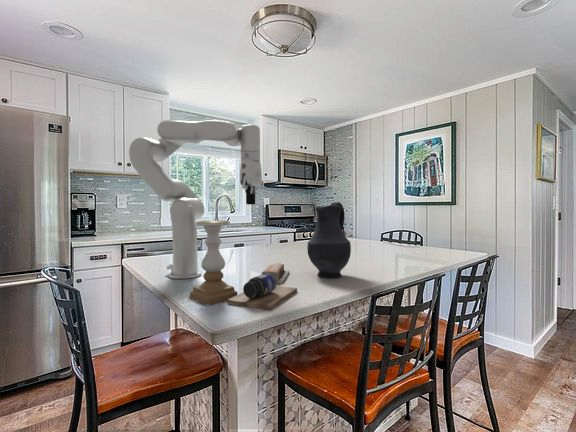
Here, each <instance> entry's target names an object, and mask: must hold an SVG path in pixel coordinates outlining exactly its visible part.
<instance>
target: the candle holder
mask: <svg viewBox="0 0 576 432" xmlns="http://www.w3.org/2000/svg"><path fill="white" fill-rule="evenodd" d="M195 222H196V226H202V227H203V229H204V231H205V232H206V236H207V237H206V239H205V240H204V244H205V245H206V248H207V251H206V254H205V255H204V257H203V258H202V260H201V266H200V267H201V268H202V270H204V271H205V272H204V273H203V279H204V280H205V281H203V282H202V283H200V285H195V286H193V287H192V290H191V291H189V298H190V299H192V300H194V301H196V300H197V301H196V302H199V303H202V304H203V305H205V306H206V305H207V306H209V305H210V306H211V305H214V304H218V303H222V302H226V301H227V300H228V299H230V298H232V297H234V296H236V295H238V291H236V290H235V287H234V286H233V285H230V284H227V282H225V281H224V280H222V279H223V278H224V273H223V272H222V270H223V269H224V268H225V267H226V261H225V258H224V257H223V255H222V254H221V252H220V249H219V248H220V246H221V244H222V240H221V238H220V232H221V230H222V229H223V226H228V225H230V224H231V223H230V221H229V220H199V221H197V220H196V221H195Z"/></svg>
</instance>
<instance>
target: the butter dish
mask: <svg viewBox="0 0 576 432" xmlns="http://www.w3.org/2000/svg"><path fill="white" fill-rule="evenodd" d="M264 273H271V274H272V275H274V277H275V278H276V281H277V284H283V283H284V282H285V280H287V277H289V274H290V270H289V269H285V265H284V263H281V262H279V263H273V264H269V265H268V266H267V267H266V268H265V269H264V270H263V271H262V272H261V275H262V274H264Z"/></svg>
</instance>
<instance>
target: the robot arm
mask: <svg viewBox="0 0 576 432" xmlns="http://www.w3.org/2000/svg"><path fill="white" fill-rule="evenodd" d="M156 128H157V129H156V130H157V134H158V136H159V138H160V139H158V140H155V139H152V138H149V137H137V138H135V139H134V140H133V141H131V144H130V145H129V150H128V156H129V161H130V164H131V165H132V167H133V169H134V170H135V171H136V172H137V174H139V176H140V177H141V178H142V179H143V180H144V181H145V183H146V184H147V185H148V187H150V189H151V190H152V191H153V192H154V193H155V194H156V196H157V197H158V198H159V199H160V200H162V201H163V202H172V203H171V205H170V208H169V216H170V221H171V230H172V231H171V232H172V233H171V234H172V237H171V238H172V263H169V264H168V266H166V269H167V270H170V273H168V277H169V278H171V279H174V280H175V279H177V280H185V279H193V278H194V279H195V278H197V277H200V276H202V271H201V270H198V267H199V266H198V229H197V225H196V222H197V220H200V219H201V218H202V217H203V216H204V215H205V206H204V204H203V203H204V202H202V200H201V199H200V198H199V196H197V195H196V194H195V192H194V191H193V190H192V189H191V188H190V186H189V185H188V184H187V183H185V182H184V181H182V180H180V179H177V178H176V179H175V178H172V177H171V176H170V174H168V173H167V172H166V171H165V170H164V168H163V167H162V166H161V165H160V164H158V162H159V163H160V162H163V161H165V160H167V159H168V158H169V157H170V156H172V155H174V153H175V152H176V151H178V150H179V149H180V148H181V147H183V145H184V144H195V145H197V144H200V143H201V142H203V141H217V142H223V143H225V144H227V145H228V146H229V147H238V146H240V166H239V183H240V185H241V187H242V189H243V190H244V193H245V204H246V205H256V193H257V191H258V190H259V187H261V186H262V185H263V174H262V165H261V129H260V126H258V125H256V124H244V125H242V126H241V127H237V126H236V125H235V124H233V123H232V122H230V121H228V120H227V121H225V120H212V119H211V120H210V119H206V120H200V121H199V120H198V121H189V120H187V121H186V120H173V119H172V120H171V119H167V120H162V121H160V123H158V125H157V127H156Z"/></svg>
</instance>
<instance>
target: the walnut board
mask: <svg viewBox="0 0 576 432" xmlns="http://www.w3.org/2000/svg"><path fill="white" fill-rule="evenodd" d="M297 292H298V288H297V287H289V286H280V285H276V288H275V289H274V290H273V291H271V292H269V293H267V294H265V295H263V296H261V297H259V298H255V297H254V298H248V297H247V296H246V295H245V294H244V291H243V292H241V293H239V294H238V293H237V295H236V296H234V297H232V298H230V299H228V300H226V301H227V302H226V303H227V305H234V306H242V307H246V308H255V309H262V310H267V311H271V310H272V309H274V308H275V307H277V306H279V305H280V304H281V303H283V302H284V301H286V300H287V299H289V298H290V297H292V296H293V295H295V294H296V293H297Z"/></svg>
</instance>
